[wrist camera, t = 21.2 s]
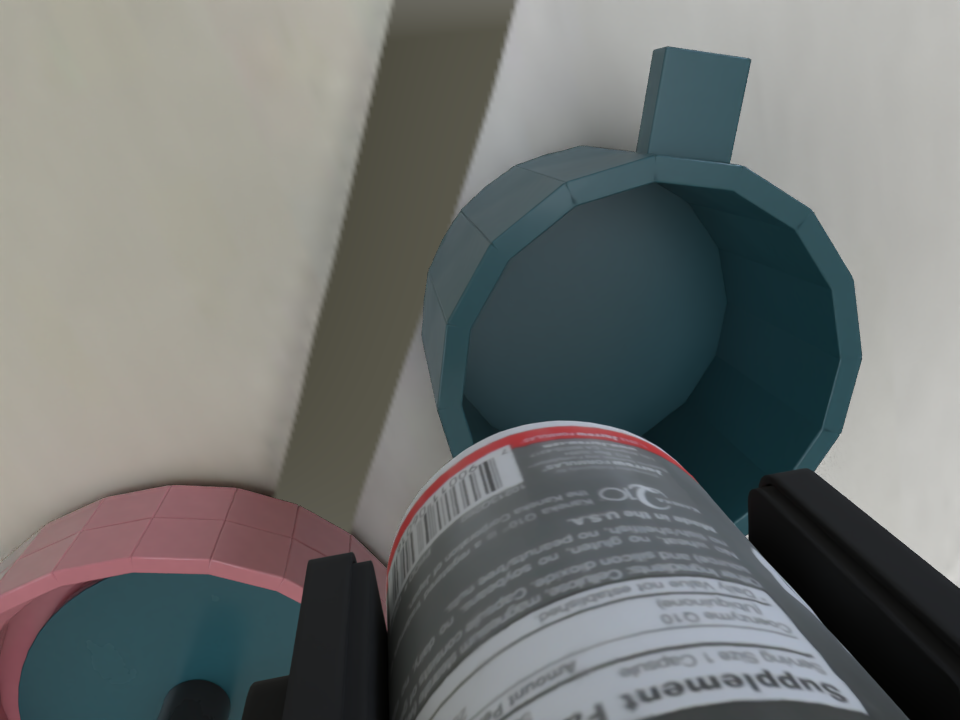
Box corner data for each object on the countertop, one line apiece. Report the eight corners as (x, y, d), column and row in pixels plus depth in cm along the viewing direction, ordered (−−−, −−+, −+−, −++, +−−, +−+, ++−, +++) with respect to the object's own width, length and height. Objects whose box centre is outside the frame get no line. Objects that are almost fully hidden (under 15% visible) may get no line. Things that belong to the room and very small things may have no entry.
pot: (403, 512, 31) (411, 641, 23) (448, 45, 25) (479, 13, 18) (688, 523, 33) (783, 646, 25) (784, 92, 27) (939, 82, 20)
